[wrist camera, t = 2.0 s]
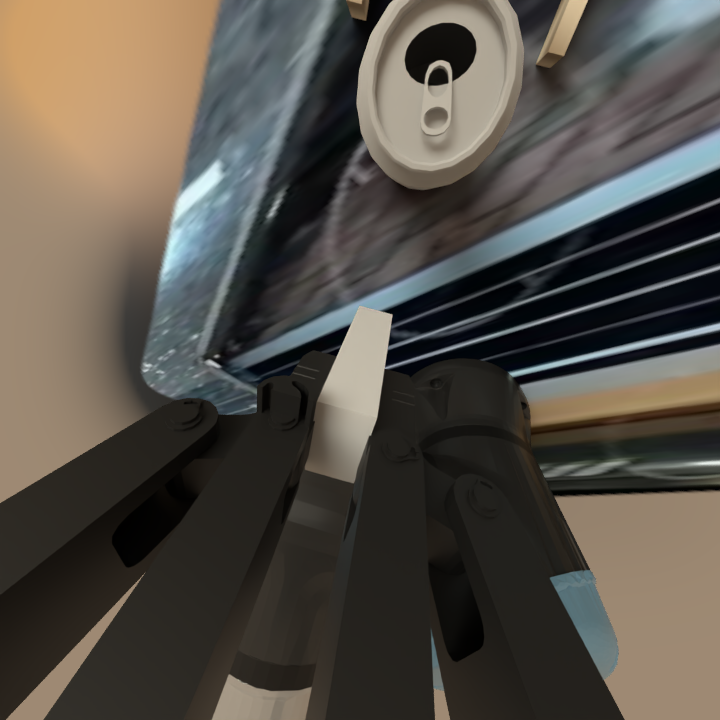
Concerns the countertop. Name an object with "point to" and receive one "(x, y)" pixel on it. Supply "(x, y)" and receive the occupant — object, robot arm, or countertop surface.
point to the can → (439, 87)
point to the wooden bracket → (556, 38)
